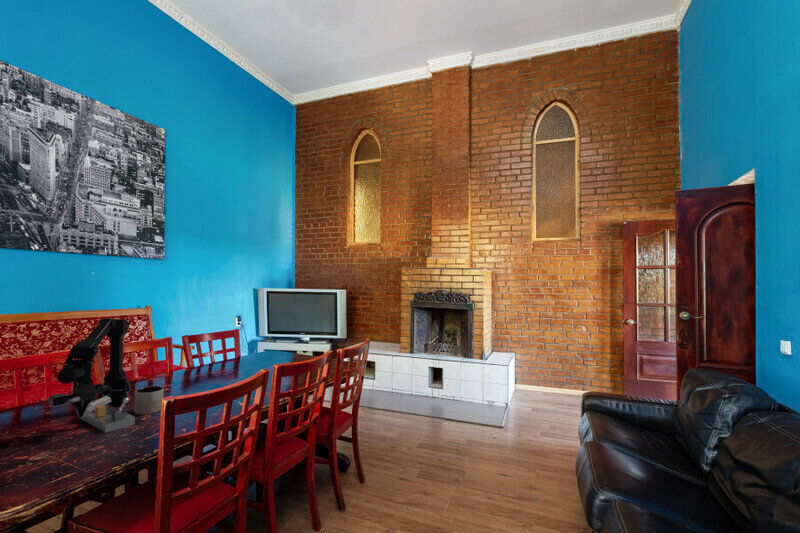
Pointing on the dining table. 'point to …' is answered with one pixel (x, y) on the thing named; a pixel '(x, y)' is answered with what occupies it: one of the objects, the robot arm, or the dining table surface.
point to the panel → (109, 419)
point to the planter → (148, 400)
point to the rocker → (98, 403)
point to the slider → (100, 410)
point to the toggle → (122, 405)
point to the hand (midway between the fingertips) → (80, 417)
